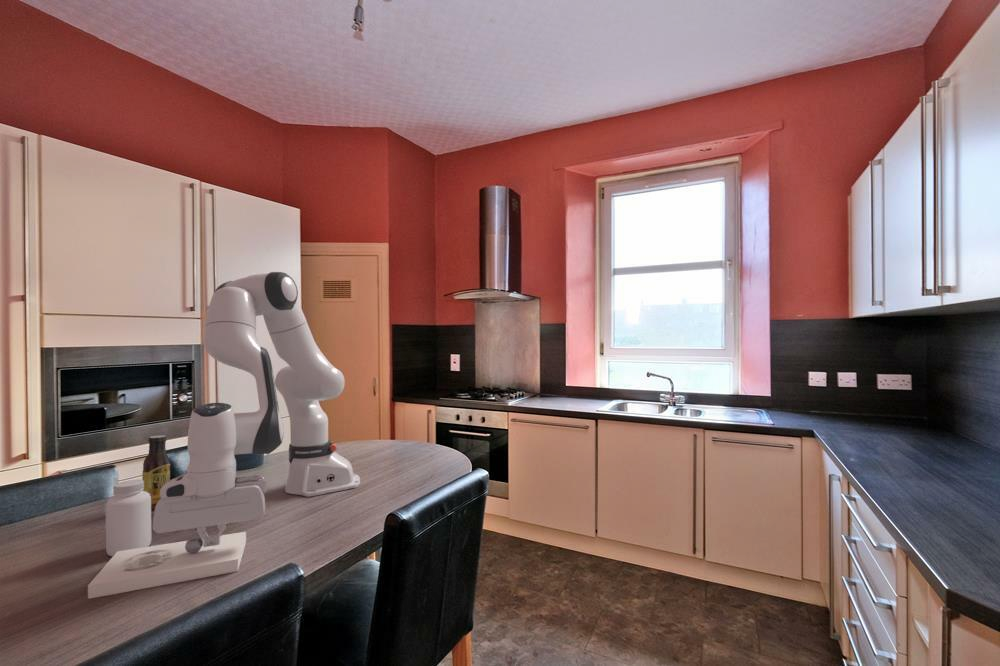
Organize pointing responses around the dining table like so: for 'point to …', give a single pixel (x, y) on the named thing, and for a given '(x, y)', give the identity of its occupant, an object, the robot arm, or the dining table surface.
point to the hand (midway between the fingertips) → (212, 544)
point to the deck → (166, 565)
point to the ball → (193, 544)
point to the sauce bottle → (156, 468)
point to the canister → (248, 460)
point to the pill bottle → (128, 517)
